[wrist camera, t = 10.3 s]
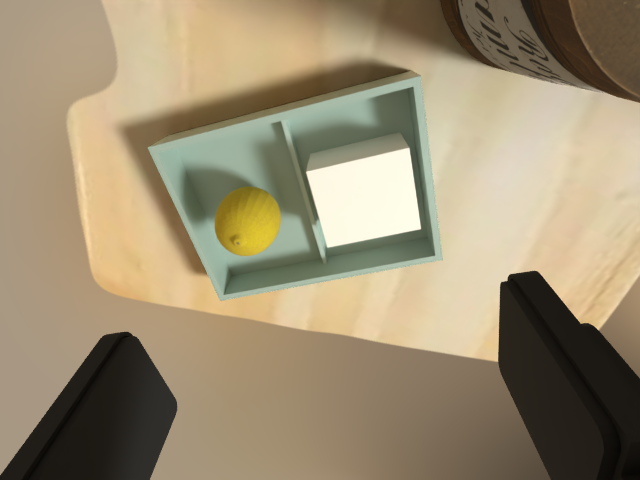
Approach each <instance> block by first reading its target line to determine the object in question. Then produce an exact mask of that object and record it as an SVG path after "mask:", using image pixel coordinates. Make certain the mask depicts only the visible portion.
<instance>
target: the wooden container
mask: <svg viewBox="0 0 640 480" xmlns="http://www.w3.org/2000/svg"><path fill="white" fill-rule="evenodd" d="M441 5H442V9H443V13H444V16H445V19H446V21H447V23H448V26H449V27H450V29H451V31H452V33H453V35H454V36H455V38H456V39H457V40H458V42H459V43H460V44H461V45H462V46H463V47H464V48H465V49H466V50H467V51H468V52H469V53H470V54H471V55H472V56H474V57H475V58H477V59H478V60H480V61H482V62H483V63H485V64H487V65H490V66H492V67H495V68H498V69H502V70H505V71H509V72H513V73H516V74H520V75H524V76H527V77H531V78H534V79H538V80H542V81H547V82H551V83H556V84H561V85H568V86H573V87H578V88H582V89H587V90H591V91H596V92H602V93H607V94H610V95H613V96H616V97H620V98H623V99H627V100H631V101H635V102H639V103H640V0H441Z"/></svg>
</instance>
